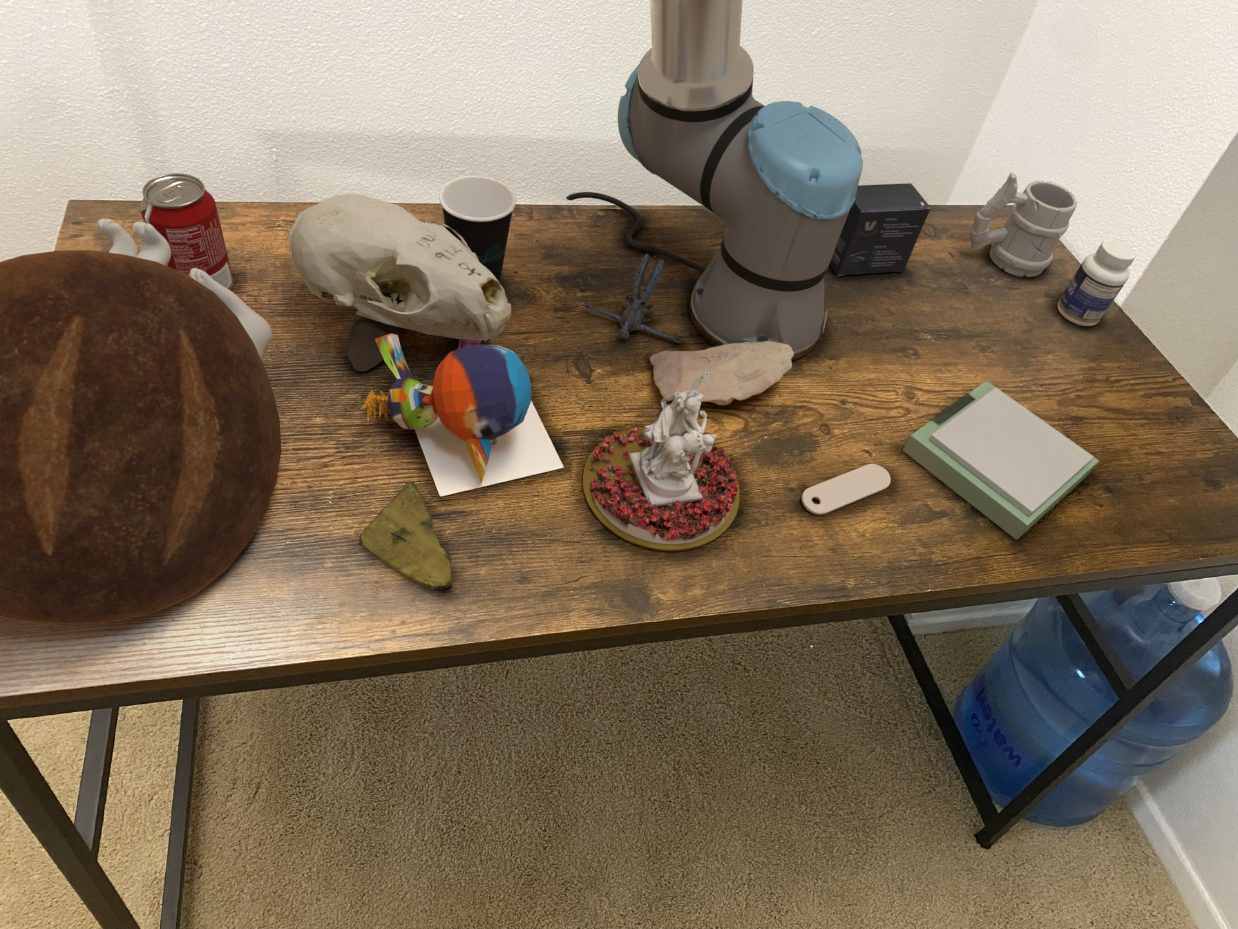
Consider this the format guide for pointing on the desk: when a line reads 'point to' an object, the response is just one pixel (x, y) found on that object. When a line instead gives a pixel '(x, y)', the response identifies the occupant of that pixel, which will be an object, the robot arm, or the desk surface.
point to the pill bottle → (1097, 283)
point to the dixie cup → (480, 216)
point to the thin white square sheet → (508, 457)
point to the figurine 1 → (368, 340)
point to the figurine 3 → (664, 480)
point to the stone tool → (723, 370)
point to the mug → (1024, 225)
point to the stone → (409, 541)
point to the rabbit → (160, 252)
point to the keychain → (846, 489)
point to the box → (880, 229)
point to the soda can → (187, 225)
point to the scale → (1000, 458)
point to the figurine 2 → (637, 303)
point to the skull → (396, 268)
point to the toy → (458, 395)
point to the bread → (124, 437)
